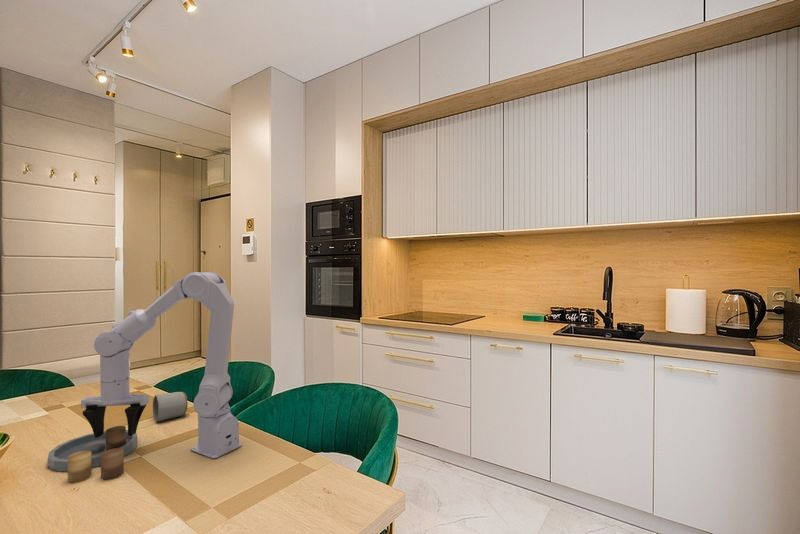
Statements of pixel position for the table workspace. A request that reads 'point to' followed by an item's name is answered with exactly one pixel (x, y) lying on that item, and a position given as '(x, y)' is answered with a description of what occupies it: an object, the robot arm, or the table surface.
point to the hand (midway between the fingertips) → (115, 435)
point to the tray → (85, 443)
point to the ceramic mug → (169, 405)
